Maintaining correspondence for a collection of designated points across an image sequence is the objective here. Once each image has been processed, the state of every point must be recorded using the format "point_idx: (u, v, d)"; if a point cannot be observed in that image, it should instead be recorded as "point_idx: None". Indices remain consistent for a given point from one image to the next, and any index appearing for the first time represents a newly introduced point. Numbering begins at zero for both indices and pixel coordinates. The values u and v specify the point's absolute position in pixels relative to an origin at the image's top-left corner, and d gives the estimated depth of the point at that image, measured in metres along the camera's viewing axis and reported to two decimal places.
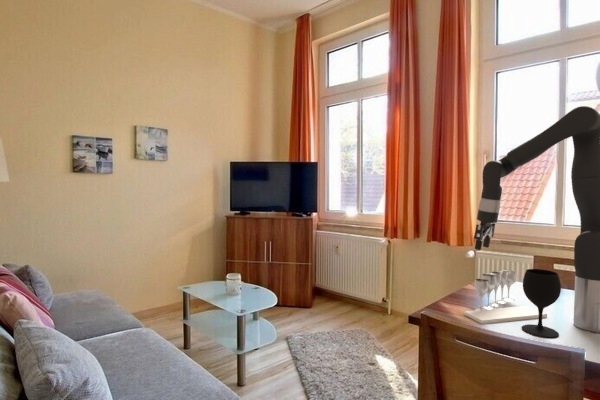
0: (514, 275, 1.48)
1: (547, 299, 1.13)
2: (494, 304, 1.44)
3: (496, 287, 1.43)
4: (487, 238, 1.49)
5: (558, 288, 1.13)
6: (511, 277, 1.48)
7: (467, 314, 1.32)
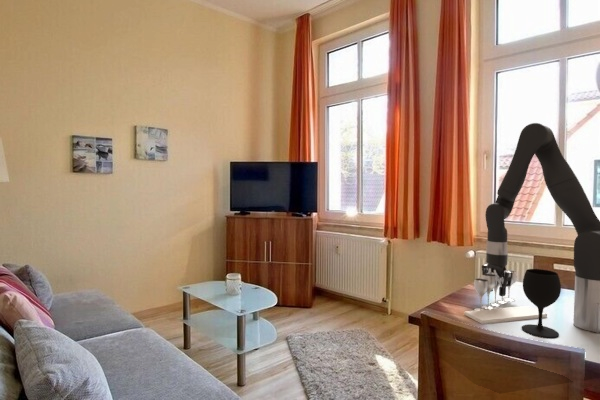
0: (514, 275, 1.48)
1: (547, 299, 1.13)
2: (494, 304, 1.44)
3: (496, 287, 1.43)
4: None
5: (558, 288, 1.13)
6: (512, 277, 1.48)
7: (467, 314, 1.32)
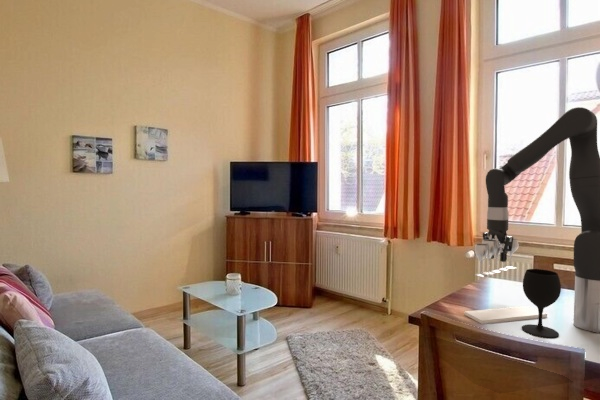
0: (516, 242, 1.47)
1: (547, 299, 1.13)
2: (495, 270, 1.43)
3: (497, 253, 1.43)
4: None
5: (558, 288, 1.13)
6: (513, 244, 1.47)
7: (467, 314, 1.32)
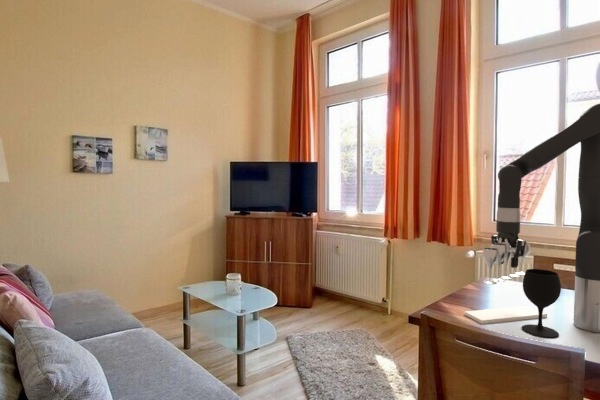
0: (528, 246, 1.35)
1: (547, 299, 1.13)
2: (505, 277, 1.31)
3: (507, 258, 1.30)
4: None
5: (558, 288, 1.13)
6: (525, 249, 1.35)
7: (467, 314, 1.32)
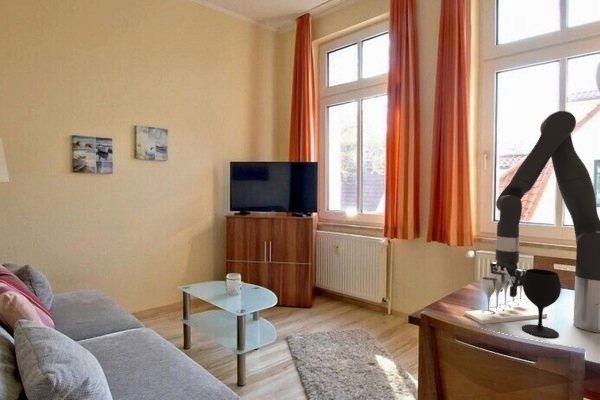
0: None
1: (547, 299, 1.13)
2: (504, 305, 1.31)
3: (506, 287, 1.31)
4: None
5: (558, 288, 1.13)
6: None
7: (467, 314, 1.32)
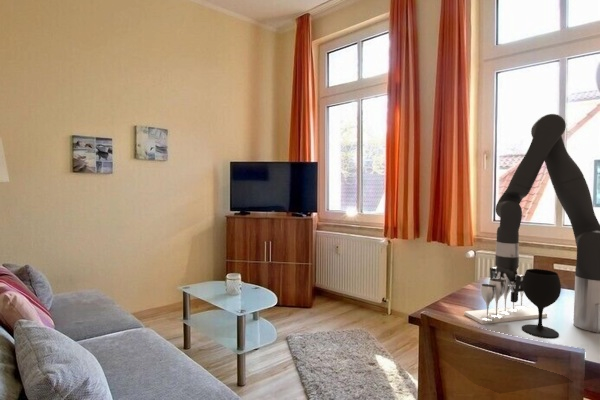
0: None
1: (547, 299, 1.13)
2: (504, 312, 1.31)
3: (506, 293, 1.31)
4: None
5: (558, 288, 1.13)
6: None
7: (467, 314, 1.32)
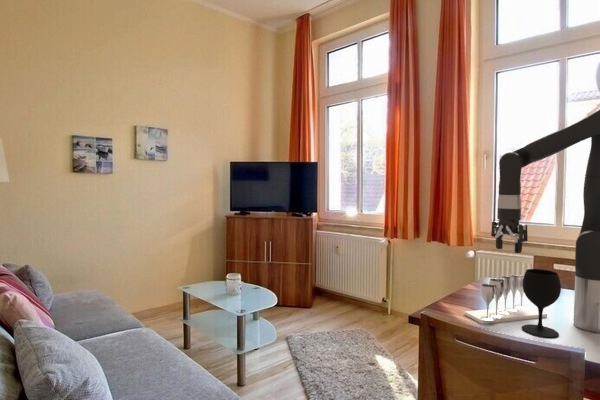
0: None
1: (547, 299, 1.13)
2: (504, 312, 1.31)
3: (506, 293, 1.31)
4: (500, 238, 1.36)
5: (558, 288, 1.13)
6: None
7: (467, 314, 1.32)
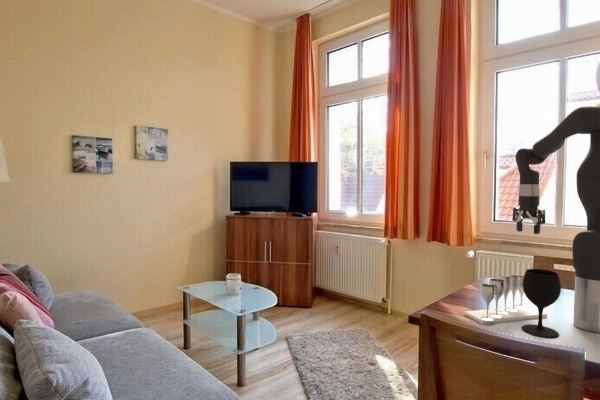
0: None
1: (547, 299, 1.13)
2: (504, 312, 1.31)
3: (506, 293, 1.31)
4: (520, 222, 1.57)
5: (558, 288, 1.13)
6: None
7: (467, 314, 1.32)
